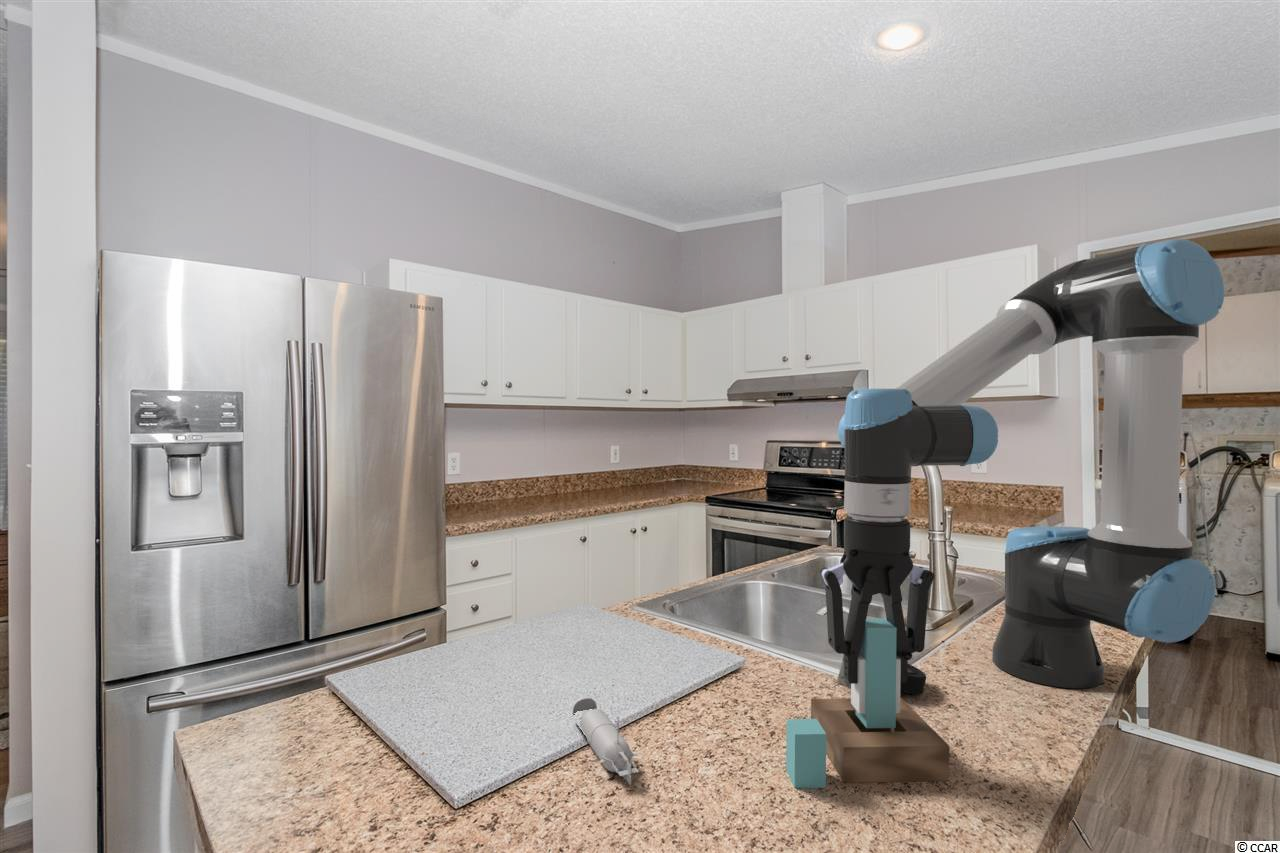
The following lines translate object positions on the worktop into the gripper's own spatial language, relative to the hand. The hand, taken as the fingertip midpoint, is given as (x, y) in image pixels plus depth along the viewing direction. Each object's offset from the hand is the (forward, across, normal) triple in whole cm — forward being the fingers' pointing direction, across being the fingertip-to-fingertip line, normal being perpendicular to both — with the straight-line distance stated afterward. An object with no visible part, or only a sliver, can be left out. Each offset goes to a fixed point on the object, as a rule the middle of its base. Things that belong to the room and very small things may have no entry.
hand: (875, 707), depth 77 cm
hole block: (+6, 0, 0) cm, 6 cm away
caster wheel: (+6, +9, +18) cm, 21 cm away
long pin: (+2, 0, 0) cm, 2 cm away
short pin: (+6, -10, -5) cm, 12 cm away
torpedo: (+6, -33, +2) cm, 34 cm away
